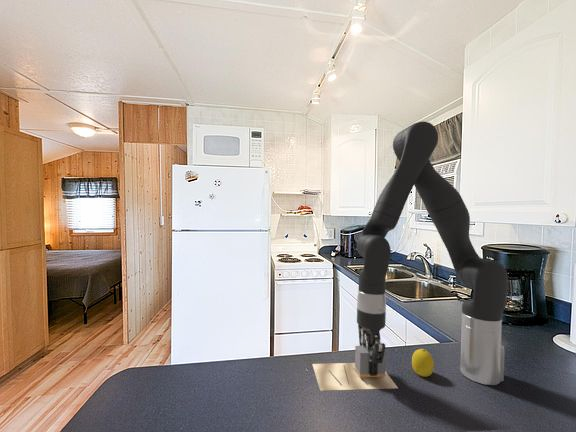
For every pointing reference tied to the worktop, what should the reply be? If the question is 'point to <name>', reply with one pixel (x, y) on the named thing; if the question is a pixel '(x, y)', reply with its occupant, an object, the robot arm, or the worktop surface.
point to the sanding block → (367, 363)
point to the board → (348, 378)
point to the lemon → (422, 363)
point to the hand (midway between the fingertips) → (369, 369)
